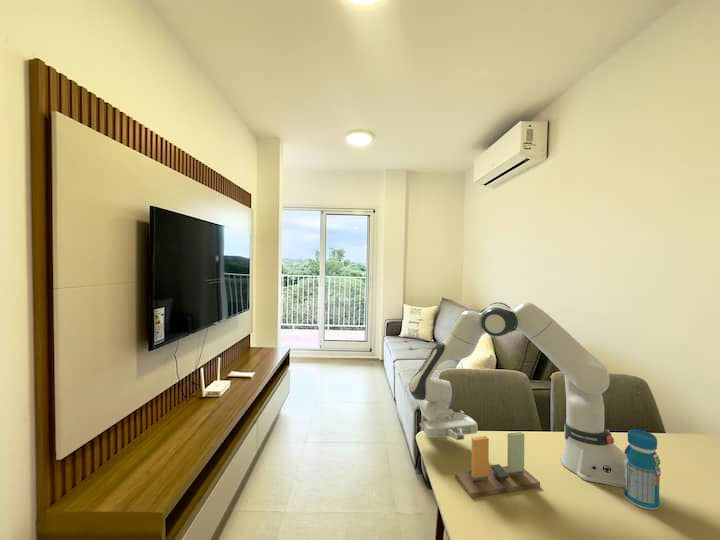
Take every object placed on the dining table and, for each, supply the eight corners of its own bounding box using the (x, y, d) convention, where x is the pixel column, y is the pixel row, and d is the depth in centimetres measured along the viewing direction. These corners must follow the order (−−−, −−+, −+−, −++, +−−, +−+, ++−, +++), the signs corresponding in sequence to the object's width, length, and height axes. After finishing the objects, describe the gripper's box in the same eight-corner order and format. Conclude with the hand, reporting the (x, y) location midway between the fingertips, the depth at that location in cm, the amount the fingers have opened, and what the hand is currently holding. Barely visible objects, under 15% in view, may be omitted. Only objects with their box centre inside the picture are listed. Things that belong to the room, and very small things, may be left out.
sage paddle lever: (521, 471, 113) (521, 431, 112) (524, 474, 111) (524, 434, 111) (507, 473, 111) (507, 433, 111) (510, 476, 110) (510, 435, 110)
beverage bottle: (636, 510, 97) (636, 440, 97) (617, 490, 106) (617, 426, 105) (668, 512, 96) (669, 442, 96) (646, 492, 105) (646, 428, 105)
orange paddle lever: (485, 477, 110) (486, 436, 110) (488, 480, 108) (488, 438, 108) (471, 479, 109) (471, 437, 109) (473, 482, 107) (474, 440, 107)
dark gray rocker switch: (498, 469, 113) (499, 464, 113) (508, 481, 108) (509, 475, 108) (490, 471, 112) (490, 465, 112) (499, 483, 107) (500, 476, 107)
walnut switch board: (518, 468, 117) (518, 464, 117) (540, 487, 107) (540, 482, 107) (455, 477, 112) (455, 473, 112) (471, 497, 102) (471, 493, 102)
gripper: (418, 414, 132) (433, 431, 118) (466, 410, 136) (486, 426, 122) (417, 430, 132) (432, 449, 118) (466, 425, 136) (485, 443, 122)
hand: (460, 437), depth 120 cm, fingers closed
